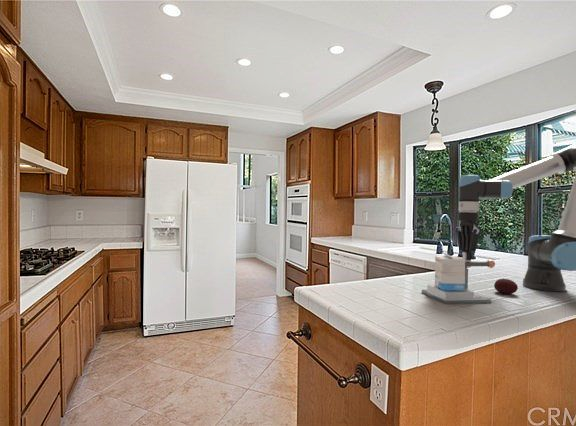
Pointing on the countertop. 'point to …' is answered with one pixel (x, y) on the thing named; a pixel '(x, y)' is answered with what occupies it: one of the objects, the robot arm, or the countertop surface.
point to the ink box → (450, 272)
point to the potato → (505, 286)
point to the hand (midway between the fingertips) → (466, 267)
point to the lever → (481, 264)
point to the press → (455, 294)
